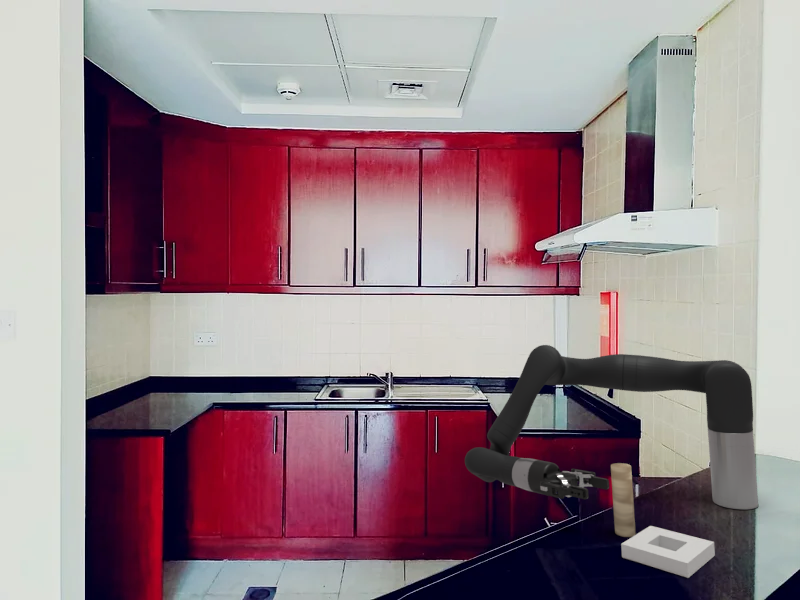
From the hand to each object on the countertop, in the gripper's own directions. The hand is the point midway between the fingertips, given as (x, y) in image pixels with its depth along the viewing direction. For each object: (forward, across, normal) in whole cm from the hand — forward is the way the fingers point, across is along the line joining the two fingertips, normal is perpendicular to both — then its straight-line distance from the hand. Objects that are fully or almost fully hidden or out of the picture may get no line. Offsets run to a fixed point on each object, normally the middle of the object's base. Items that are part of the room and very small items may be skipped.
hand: (598, 489), depth 120 cm
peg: (+6, 0, +8) cm, 10 cm away
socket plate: (+17, -5, +8) cm, 19 cm away
